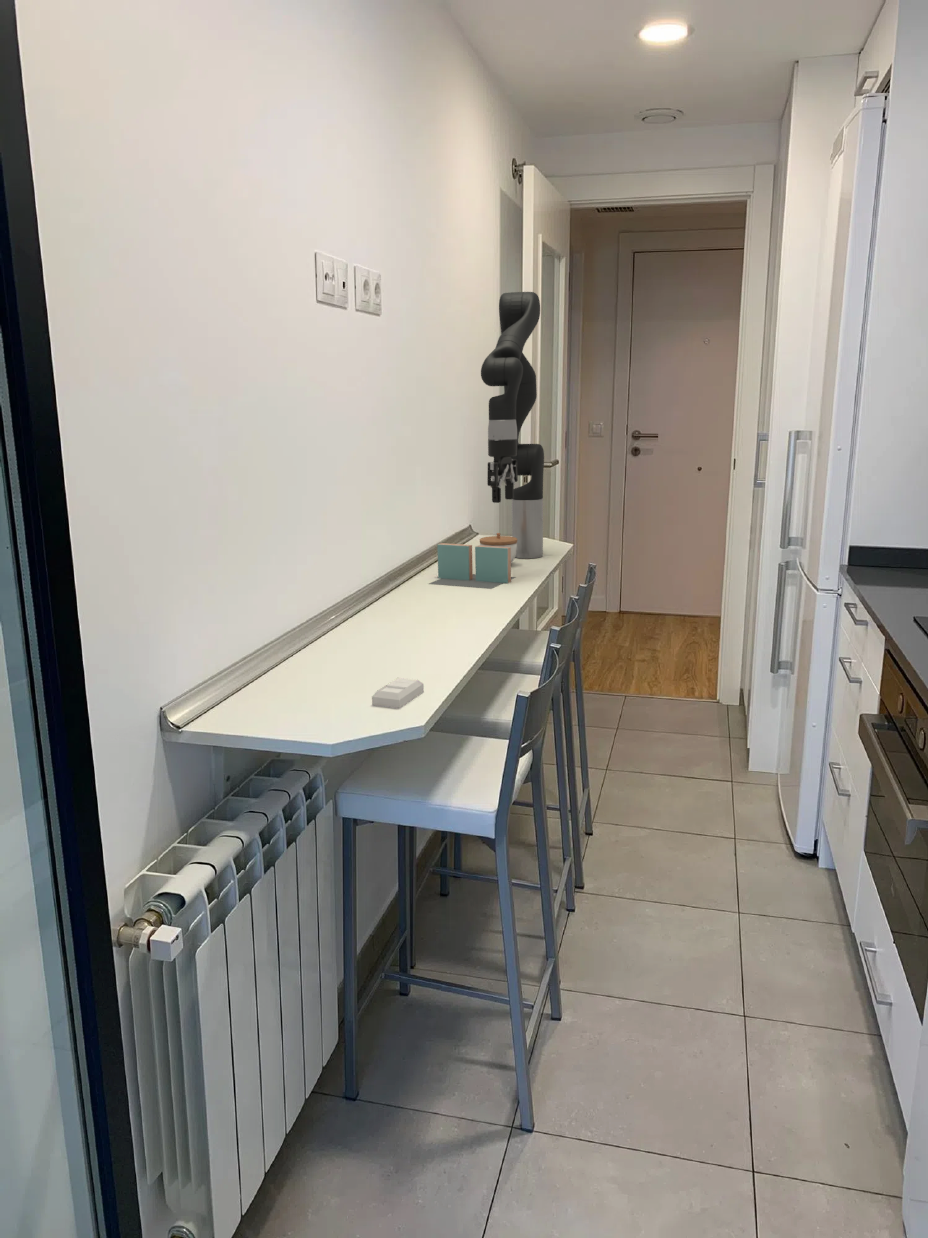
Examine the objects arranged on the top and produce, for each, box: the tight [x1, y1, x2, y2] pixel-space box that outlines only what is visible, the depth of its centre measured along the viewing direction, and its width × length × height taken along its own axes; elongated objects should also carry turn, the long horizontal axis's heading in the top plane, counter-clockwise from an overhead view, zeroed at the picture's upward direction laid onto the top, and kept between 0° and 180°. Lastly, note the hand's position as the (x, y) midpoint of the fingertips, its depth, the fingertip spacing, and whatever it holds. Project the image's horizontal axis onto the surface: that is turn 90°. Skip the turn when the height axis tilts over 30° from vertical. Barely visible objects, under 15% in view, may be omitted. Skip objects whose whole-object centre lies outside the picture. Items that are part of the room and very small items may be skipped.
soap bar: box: [371, 677, 425, 709], centre depth 155 cm, size 5×9×3 cm, turn 157°
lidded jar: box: [479, 532, 517, 564], centre depth 268 cm, size 11×11×9 cm
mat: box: [428, 573, 517, 590], centre depth 247 cm, size 16×18×1 cm
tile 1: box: [436, 542, 474, 580], centre depth 249 cm, size 2×9×9 cm, turn 64°
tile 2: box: [474, 544, 512, 584], centre depth 245 cm, size 2×9×9 cm, turn 64°
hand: (503, 500), depth 247 cm, fingers open, 8 cm apart
